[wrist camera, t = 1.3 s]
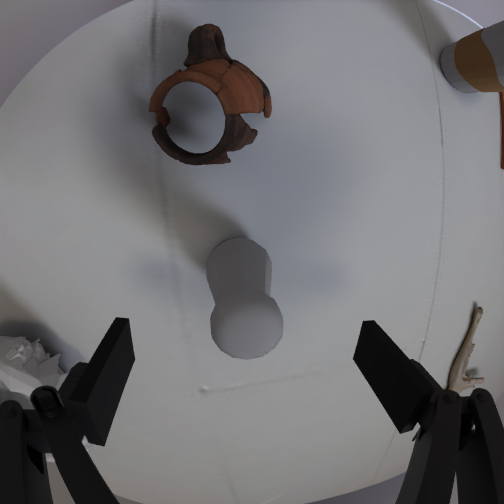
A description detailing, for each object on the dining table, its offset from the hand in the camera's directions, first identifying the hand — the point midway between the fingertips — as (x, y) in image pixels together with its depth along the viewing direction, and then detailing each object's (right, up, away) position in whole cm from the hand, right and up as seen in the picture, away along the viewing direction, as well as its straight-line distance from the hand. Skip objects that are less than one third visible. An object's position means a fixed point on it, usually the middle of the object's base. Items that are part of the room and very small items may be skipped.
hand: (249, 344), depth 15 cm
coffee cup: (+25, +28, +9) cm, 39 cm away
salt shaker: (-1, +4, +13) cm, 14 cm away
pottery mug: (-3, +19, +9) cm, 21 cm away
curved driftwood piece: (+39, -12, +22) cm, 46 cm away
